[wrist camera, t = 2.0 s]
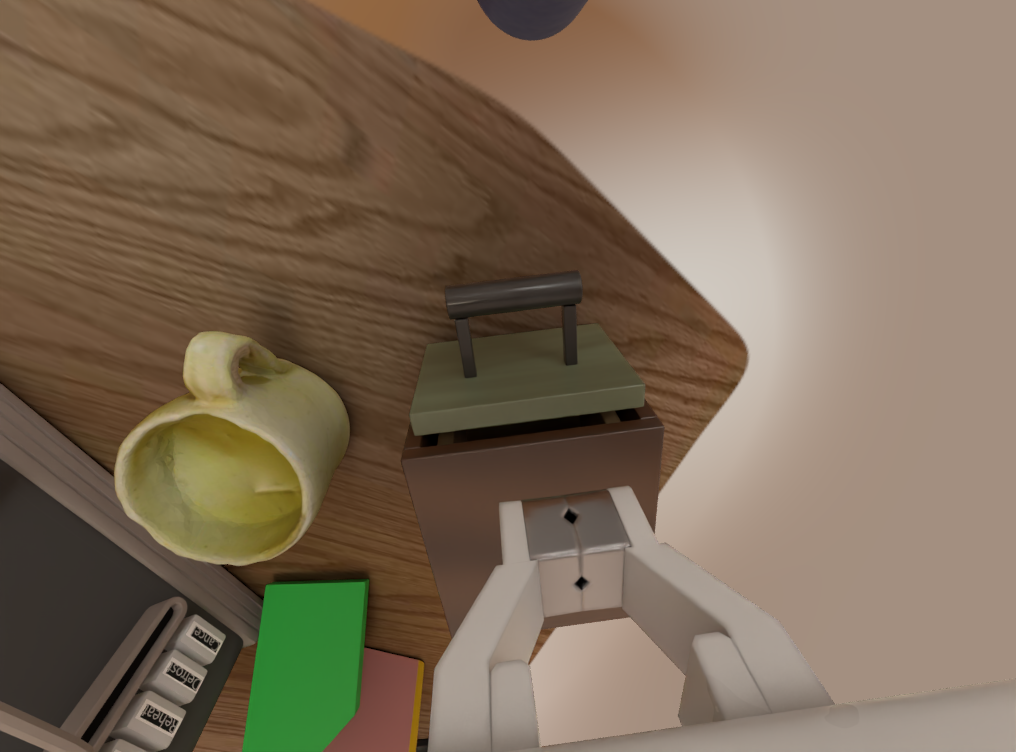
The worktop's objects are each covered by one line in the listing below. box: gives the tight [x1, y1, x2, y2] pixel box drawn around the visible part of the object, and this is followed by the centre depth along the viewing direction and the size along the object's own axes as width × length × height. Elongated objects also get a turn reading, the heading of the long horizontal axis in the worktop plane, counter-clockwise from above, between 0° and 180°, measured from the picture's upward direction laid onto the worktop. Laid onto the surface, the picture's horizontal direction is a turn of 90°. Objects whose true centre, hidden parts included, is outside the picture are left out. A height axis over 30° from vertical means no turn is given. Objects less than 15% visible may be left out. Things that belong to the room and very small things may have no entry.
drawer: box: [409, 270, 645, 446], centre depth 23 cm, size 17×10×8 cm, turn 6°
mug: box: [114, 331, 350, 566], centre depth 23 cm, size 12×10×10 cm
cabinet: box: [401, 399, 664, 639], centre depth 25 cm, size 14×12×10 cm
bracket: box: [242, 579, 369, 752], centre depth 35 cm, size 12×8×7 cm
